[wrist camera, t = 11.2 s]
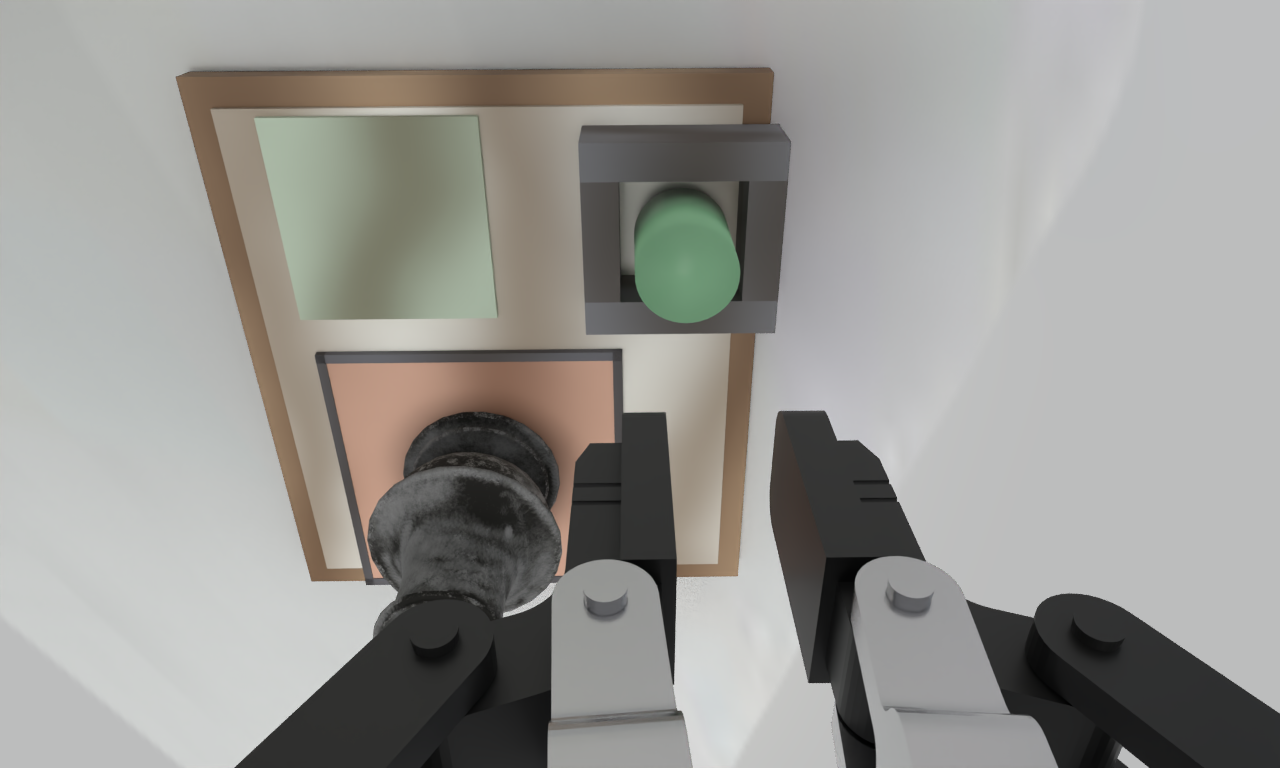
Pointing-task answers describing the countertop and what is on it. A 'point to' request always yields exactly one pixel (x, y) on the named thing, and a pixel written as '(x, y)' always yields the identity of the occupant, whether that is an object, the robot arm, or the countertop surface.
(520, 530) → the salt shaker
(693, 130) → the picture board
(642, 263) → the button
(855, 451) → the robot arm
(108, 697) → the countertop surface
